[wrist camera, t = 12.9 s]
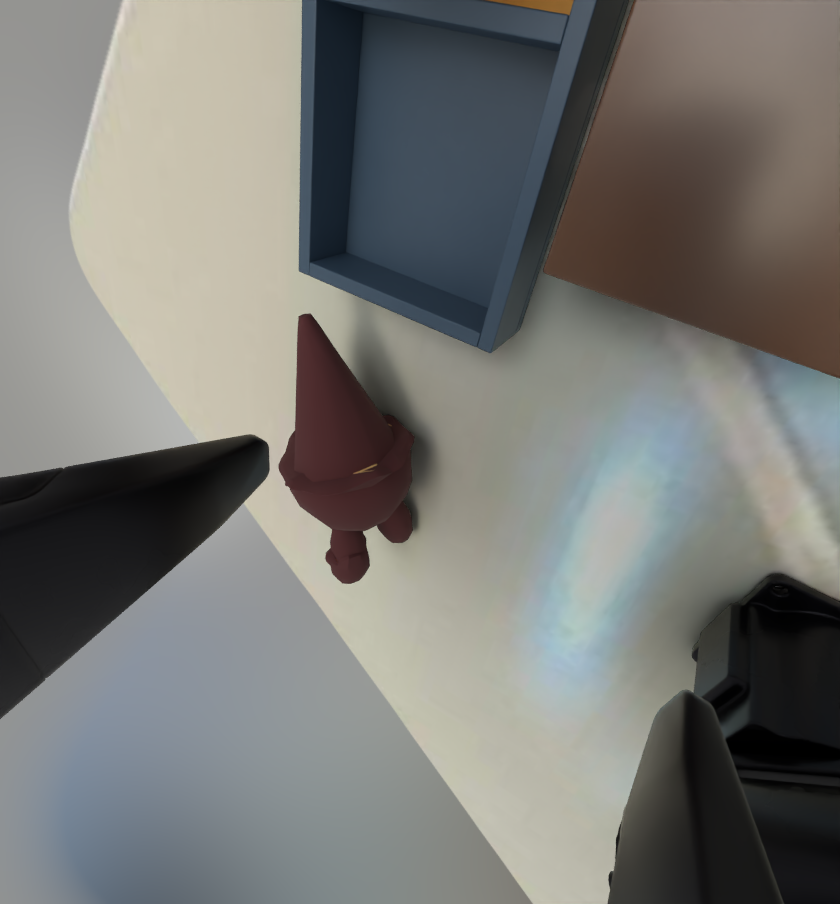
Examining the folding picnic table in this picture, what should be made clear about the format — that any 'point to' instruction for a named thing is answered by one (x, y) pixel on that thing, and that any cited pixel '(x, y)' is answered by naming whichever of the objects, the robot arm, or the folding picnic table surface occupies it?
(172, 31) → the folding picnic table surface
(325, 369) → the maroon cone-shaped figurine
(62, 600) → the robot arm
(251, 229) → the folding picnic table surface
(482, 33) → the blue divided tray
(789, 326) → the brown low table
